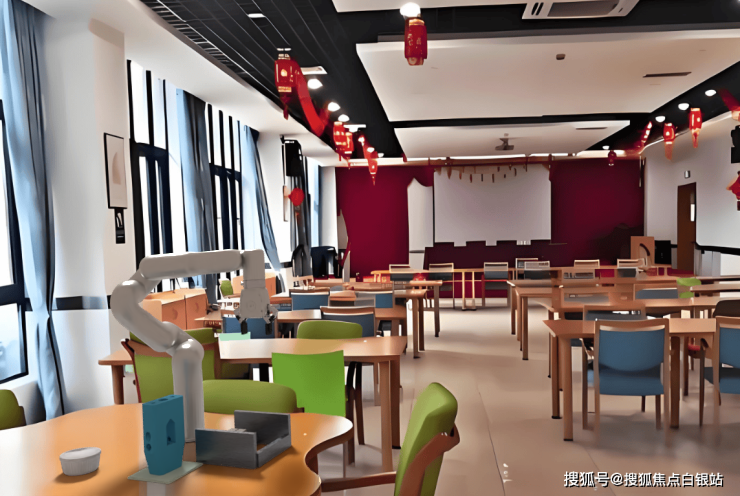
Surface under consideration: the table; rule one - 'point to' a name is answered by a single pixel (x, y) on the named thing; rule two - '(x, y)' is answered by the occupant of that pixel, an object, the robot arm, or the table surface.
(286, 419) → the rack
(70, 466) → the ramekin
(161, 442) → the block
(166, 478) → the mat
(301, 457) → the table surface
